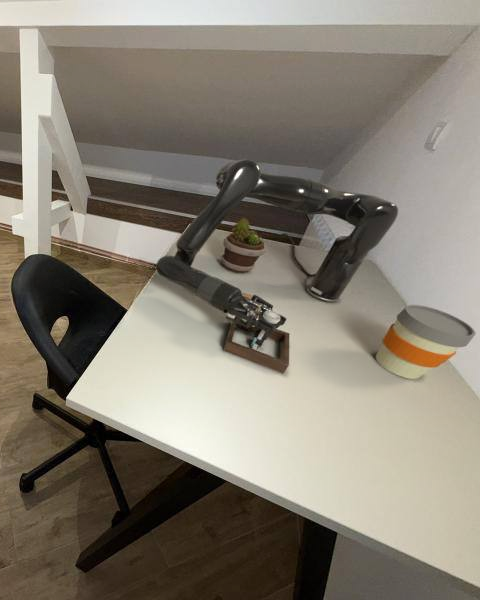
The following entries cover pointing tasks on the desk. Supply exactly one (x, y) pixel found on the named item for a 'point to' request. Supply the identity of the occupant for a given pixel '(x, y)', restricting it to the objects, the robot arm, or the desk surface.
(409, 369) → the reusable coffee cup
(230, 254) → the flowerpot
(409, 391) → the desk surface
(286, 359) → the walnut frame
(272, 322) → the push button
